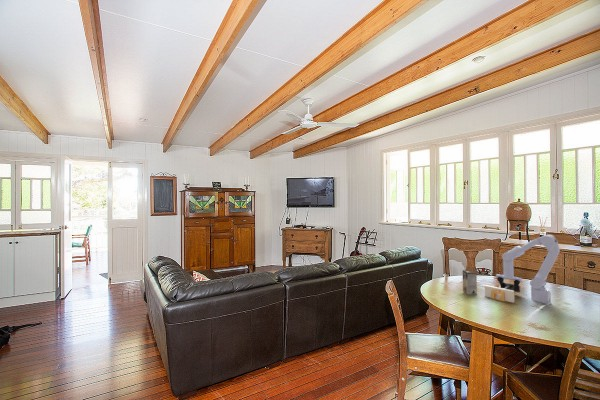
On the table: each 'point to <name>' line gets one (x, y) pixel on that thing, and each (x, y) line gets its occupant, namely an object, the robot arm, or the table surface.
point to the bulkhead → (508, 294)
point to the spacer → (498, 293)
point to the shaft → (510, 287)
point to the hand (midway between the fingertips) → (508, 289)
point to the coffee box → (469, 282)
